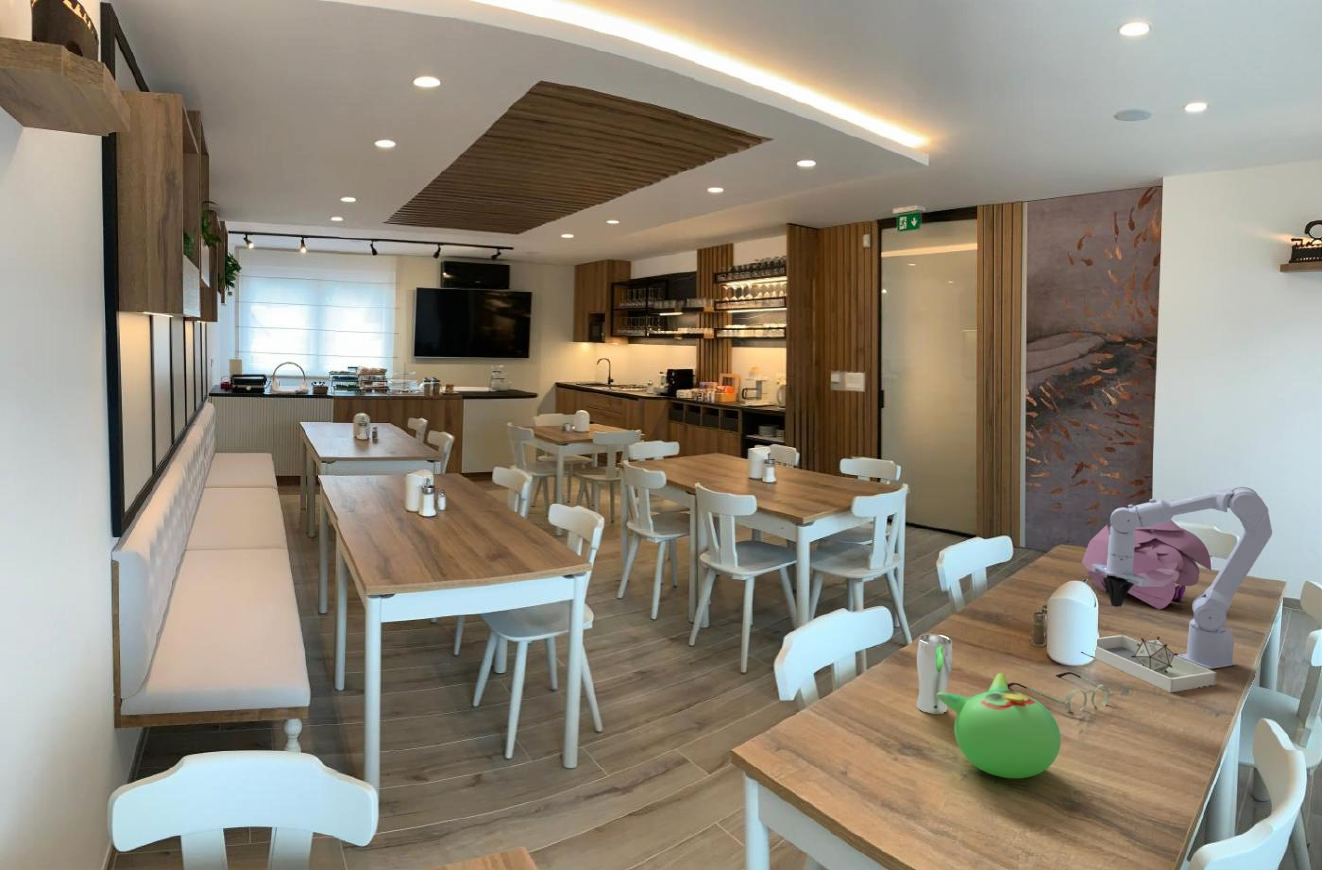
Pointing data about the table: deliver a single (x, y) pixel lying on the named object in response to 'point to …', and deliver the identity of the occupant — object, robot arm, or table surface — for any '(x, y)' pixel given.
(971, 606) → the table surface
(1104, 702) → the eyeglasses
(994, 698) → the green squishy toy
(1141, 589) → the pink rounded layered piece
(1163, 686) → the shallow open box
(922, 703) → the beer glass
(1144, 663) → the game die
